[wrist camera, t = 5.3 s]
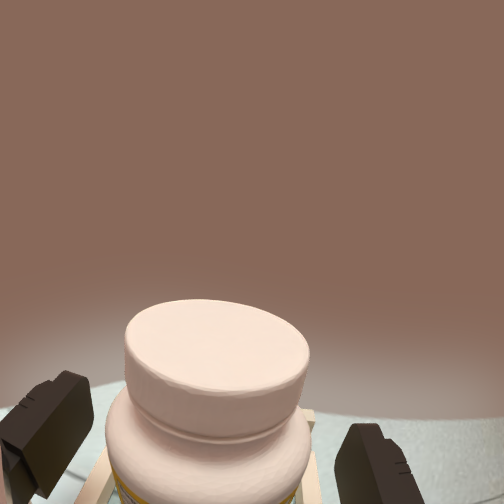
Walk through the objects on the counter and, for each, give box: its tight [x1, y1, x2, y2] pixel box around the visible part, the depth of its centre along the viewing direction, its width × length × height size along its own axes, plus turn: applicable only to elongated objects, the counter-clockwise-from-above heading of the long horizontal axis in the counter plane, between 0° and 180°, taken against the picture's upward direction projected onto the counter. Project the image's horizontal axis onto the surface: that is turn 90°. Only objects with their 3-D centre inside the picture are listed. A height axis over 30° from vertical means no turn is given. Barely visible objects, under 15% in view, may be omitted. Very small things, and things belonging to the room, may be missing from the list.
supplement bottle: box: [105, 299, 311, 504], centre depth 8 cm, size 5×5×10 cm
